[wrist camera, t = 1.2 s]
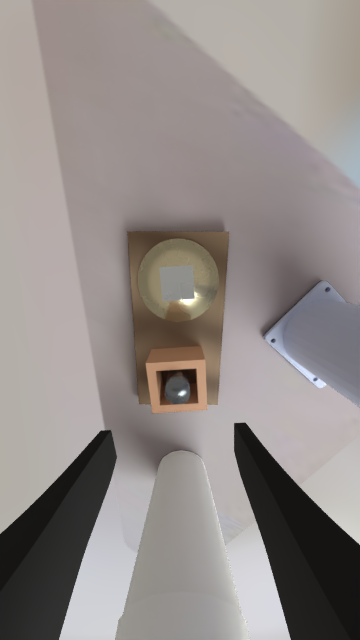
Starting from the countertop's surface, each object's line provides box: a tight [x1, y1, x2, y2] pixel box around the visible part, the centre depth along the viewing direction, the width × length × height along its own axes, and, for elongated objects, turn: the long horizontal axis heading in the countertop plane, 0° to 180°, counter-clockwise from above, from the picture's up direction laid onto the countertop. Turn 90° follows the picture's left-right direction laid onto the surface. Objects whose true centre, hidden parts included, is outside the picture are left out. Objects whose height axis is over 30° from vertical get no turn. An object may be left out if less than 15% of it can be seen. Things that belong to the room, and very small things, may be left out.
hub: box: [138, 238, 219, 322], centre depth 14 cm, size 8×8×4 cm
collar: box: [146, 346, 207, 413], centre depth 16 cm, size 5×5×3 cm
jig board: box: [128, 232, 229, 405], centre depth 17 cm, size 18×9×1 cm, turn 0°
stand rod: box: [165, 369, 190, 404], centre depth 16 cm, size 2×2×4 cm
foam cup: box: [115, 450, 250, 640], centre depth 16 cm, size 10×9×13 cm
